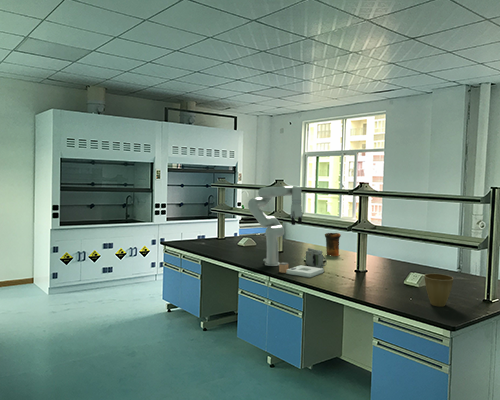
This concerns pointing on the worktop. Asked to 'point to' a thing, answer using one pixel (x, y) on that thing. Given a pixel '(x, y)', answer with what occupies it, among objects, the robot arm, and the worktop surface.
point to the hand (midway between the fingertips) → (296, 224)
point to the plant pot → (438, 288)
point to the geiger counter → (314, 258)
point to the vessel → (332, 243)
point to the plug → (283, 267)
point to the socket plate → (305, 271)
